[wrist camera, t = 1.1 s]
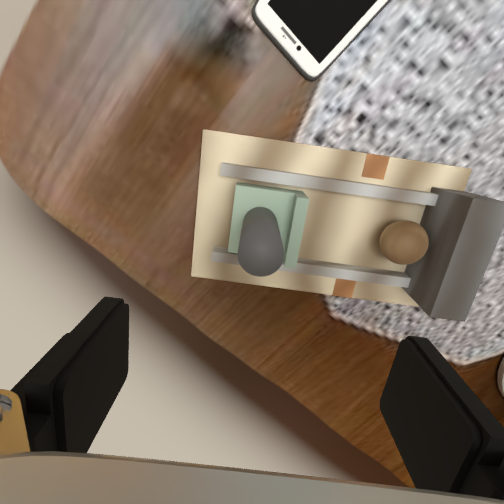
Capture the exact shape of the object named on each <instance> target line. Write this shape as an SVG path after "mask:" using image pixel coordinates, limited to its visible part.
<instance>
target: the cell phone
mask: <svg viewBox="0 0 504 504" xmlns="http://www.w3.org/2000/svg"><path fill="white" fill-rule="evenodd" d="M389 2H390V0H257V1H256V2H255V4H254V6H253V8H252V16H253V19H254V21H255V22H256V24H257V25H258V26H259V28H260V29H261V30H262V31H263V32H264V33H265V34H266V36H267V37H268V38H269V39H270V40H271V41H272V42H273V44H274V45H275V46H276V47H277V48H278V49H279V50H280V51H281V53H282V54H283V55H284V56H285V57H286V58H287V59H288V61H289V62H290V63H291V64H292V65H293V66H294V67H295V68H296V70H297V71H298V72H299V73H300V74H301V75H302V76H303V77H304V78H305V79H307V80H309V81H314V80H316V79H317V78H319V77H320V76H321V75H322V74H323V73H324V72H325V71H326V70H327V69H328V68H329V67H330V66H331V65H332V63H333V62H334V61H335V60H336V59H337V58H338V57H339V56H340V55H341V54H342V53H343V51H344V50H345V49H346V48H347V47H348V46H349V45H350V44H351V43H352V42H353V41H354V40H355V38H356V37H357V36H358V35H359V34H360V33H361V32H362V31H363V30H364V29H365V28H366V27H367V26H368V24H369V23H370V22H371V21H372V20H373V19H374V18H375V17H376V16H377V15H378V14H379V12H380V11H381V10H382V9H383V8H384V7H385V6H386V5H387V4H388V3H389Z"/></svg>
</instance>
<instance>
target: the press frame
mask: <svg viewBox="0 0 504 504" xmlns="http://www.w3.org/2000/svg"><path fill="white" fill-rule="evenodd" d="M471 170H472V169H469V168H462V167H455V166H448V165H442V164H435V163H428V162H421V161H415V160H408V159H401V158H394V157H387V156H381V155H374V154H367V153H360V152H354V151H347V150H340V149H333V148H326V147H320V146H313V145H306V144H299V143H293V142H286V141H279V140H272V139H265V138H259V137H252V136H245V135H238V134H231V133H225V132H218V131H211V130H204V129H203V138H202V150H201V162H200V174H199V186H198V198H197V211H196V223H195V235H194V247H193V259H192V271H191V276H194V277H201V278H209V279H216V280H224V281H231V282H239V283H246V284H254V285H261V286H268V287H276V288H283V289H291V290H298V291H306V292H313V293H321V294H328V295H333V296H340V297H347V298H358V299H365V300H373V301H380V302H388V303H395V304H403V305H410V306H418V307H421V308H422V309H423V310H424V311H425V312H426V314H427V315H428V316H429V317H434V318H442V319H449V320H457V321H464V322H465V320H466V317H467V315H468V312H469V310H470V307H471V305H472V303H473V300H474V298H475V295H476V293H477V290H478V288H479V286H480V283H481V281H482V278H483V276H484V273H485V271H486V269H487V266H488V264H489V261H490V259H491V256H492V254H493V252H494V249H495V247H496V244H497V242H498V239H499V237H500V235H501V232H502V230H503V227H504V202H503V201H499V200H496V199H492V198H488V197H484V196H480V195H476V194H472V193H468V192H464V190H465V187H466V184H467V181H468V179H469V176H470V173H471ZM237 182H242V183H249V184H256V185H263V186H270V187H277V188H284V189H290V190H297V191H303V192H304V193H305V194H306V195H307V197H308V198H309V199H310V200H309V205H308V210H307V215H306V220H305V225H304V230H303V235H302V240H301V245H300V250H299V255H298V260H297V265H296V269H295V268H287V267H284V264H283V263H282V265H281V267H280V268H279V269H278V270H277V271H276V272H275V273H273V274H271V275H268V276H264V277H258V276H253V275H251V274H249V273H247V272H246V271H245V270H244V269H243V268H242V267H241V266H240V264H239V261H238V256H237V253H231V252H228V246H229V238H230V229H231V221H232V213H233V204H234V196H235V188H236V184H237Z"/></svg>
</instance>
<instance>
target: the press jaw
mask: <svg viewBox="0 0 504 504" xmlns="http://www.w3.org/2000/svg"><path fill="white" fill-rule="evenodd" d="M309 200H310V199H309V198H308V197H307V195H306V194H305V193H304V192H303V191H297V190H290V189H284V188H277V187H270V186H263V185H256V184H249V183H242V182H237V184H236V188H235V196H234V204H233V213H232V221H231V229H230V238H229V246H228V252H231V253H237V256H238V261H239V264H240V266H241V267H242V268H243V269H244V270H245V271H246V272H247V273H249V274H251V275H253V276H258V277H264V276H268V275H271V274H273V273H275V272H276V271H277V270H278V269H279V268H280V267H281V265H282V263H283V264H284V267H287V268H295V269H296V265H297V260H298V255H299V250H300V245H301V240H302V235H303V230H304V225H305V220H306V215H307V210H308V205H309Z"/></svg>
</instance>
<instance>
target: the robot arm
mask: <svg viewBox="0 0 504 504" xmlns="http://www.w3.org/2000/svg"><path fill="white" fill-rule="evenodd" d="M128 350H129V305H128V304H125V303H124V300H123V299H120V298H112V297H104V298H103V299H102V300H101V301H100V302H99V303H98V304H97V305H96V306H95V307H94V308H93V309H92V310H91V311H90V312H89V313H88V314H87V316H86V317H85V318H84V319H83V320H82V321H81V322H80V323H79V324H78V325H77V326H76V327H75V328H74V329H73V330H72V331H71V332H70V333H67V334H65V335H64V336H63V337H62V338H61V339H60V340H59V341H58V342H57V343H56V344H55V345H54V346H53V347H52V348H51V349H50V350H49V351H48V352H47V353H46V354H45V355H44V356H43V358H41V360H40V361H39V362H38V363H37V364H36V365H35V366H34V367H33V368H32V369H31V370H30V371H29V372H28V373H27V374H26V375H25V376H24V377H23V378H22V379H21V380H20V381H19V382H18V383H17V384H16V385H15V386H14V388H13V389H11V390H10V391H9V390H4V389H0V504H504V427H503V426H502V425H501V424H500V423H499V422H498V420H497V419H496V418H495V417H494V416H493V415H492V413H491V412H490V411H489V410H488V409H487V408H486V406H485V405H484V404H483V403H482V402H481V401H480V399H479V398H478V397H477V396H476V395H475V393H474V392H473V391H472V390H471V389H470V388H469V386H468V385H467V384H466V383H465V382H464V381H463V379H462V378H461V377H460V376H459V375H458V374H457V372H456V371H455V370H454V369H453V368H452V367H451V365H450V364H449V363H448V362H447V361H446V359H445V358H444V357H443V356H442V355H441V354H440V352H439V351H438V350H437V349H436V348H435V347H434V345H433V344H432V343H431V342H430V341H429V340H428V339H427V338H423V337H415V336H408V337H407V338H406V339H403V340H402V341H401V342H400V345H399V347H398V350H397V353H396V356H395V359H394V362H393V365H392V368H391V370H390V373H389V376H388V379H387V382H386V385H385V388H384V391H383V393H382V396H381V399H380V410H381V413H382V415H383V417H384V419H385V421H386V424H387V426H388V428H389V430H390V432H391V435H392V437H393V439H394V441H395V443H396V445H397V448H398V450H399V452H400V454H401V456H402V459H403V461H404V463H405V465H406V467H407V470H408V472H409V474H410V476H411V478H412V481H413V483H414V485H415V487H416V488H408V487H400V486H391V485H383V484H374V483H366V482H357V481H349V480H340V479H331V478H321V477H313V476H304V475H295V474H286V473H277V472H268V471H259V470H250V469H241V468H231V467H222V466H213V465H203V464H192V463H184V462H175V461H165V460H156V459H146V458H134V457H125V456H114V455H103V454H90V453H87V451H88V449H89V448H90V446H91V444H92V442H93V440H94V438H95V436H96V434H97V433H98V431H99V429H100V427H101V425H102V423H103V421H104V420H105V418H106V415H107V414H108V412H109V410H110V408H111V406H112V405H113V403H114V401H115V399H116V397H117V395H118V393H119V392H120V390H121V388H122V386H123V384H124V382H125V380H126V377H127V374H128ZM497 382H498V387H499V390H500V392H501V394H502V396H503V397H504V358H503V360H502V362H501V363H500V367H499V370H498V376H497Z"/></svg>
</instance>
